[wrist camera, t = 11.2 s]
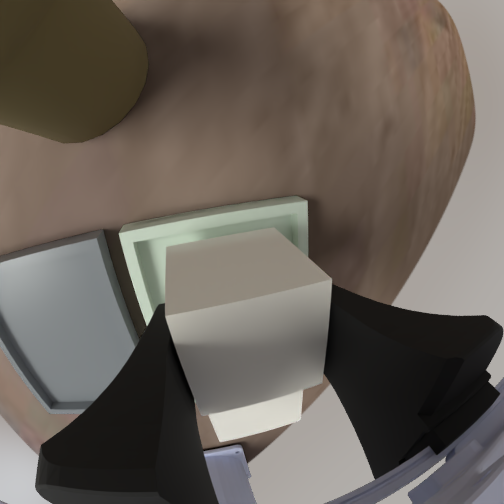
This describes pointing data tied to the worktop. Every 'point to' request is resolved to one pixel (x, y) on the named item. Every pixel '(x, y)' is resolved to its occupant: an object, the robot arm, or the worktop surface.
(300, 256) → the stone block
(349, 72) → the worktop surface
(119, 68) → the cork
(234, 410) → the stone block
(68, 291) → the tray
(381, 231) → the worktop surface
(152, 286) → the tray
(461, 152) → the worktop surface
